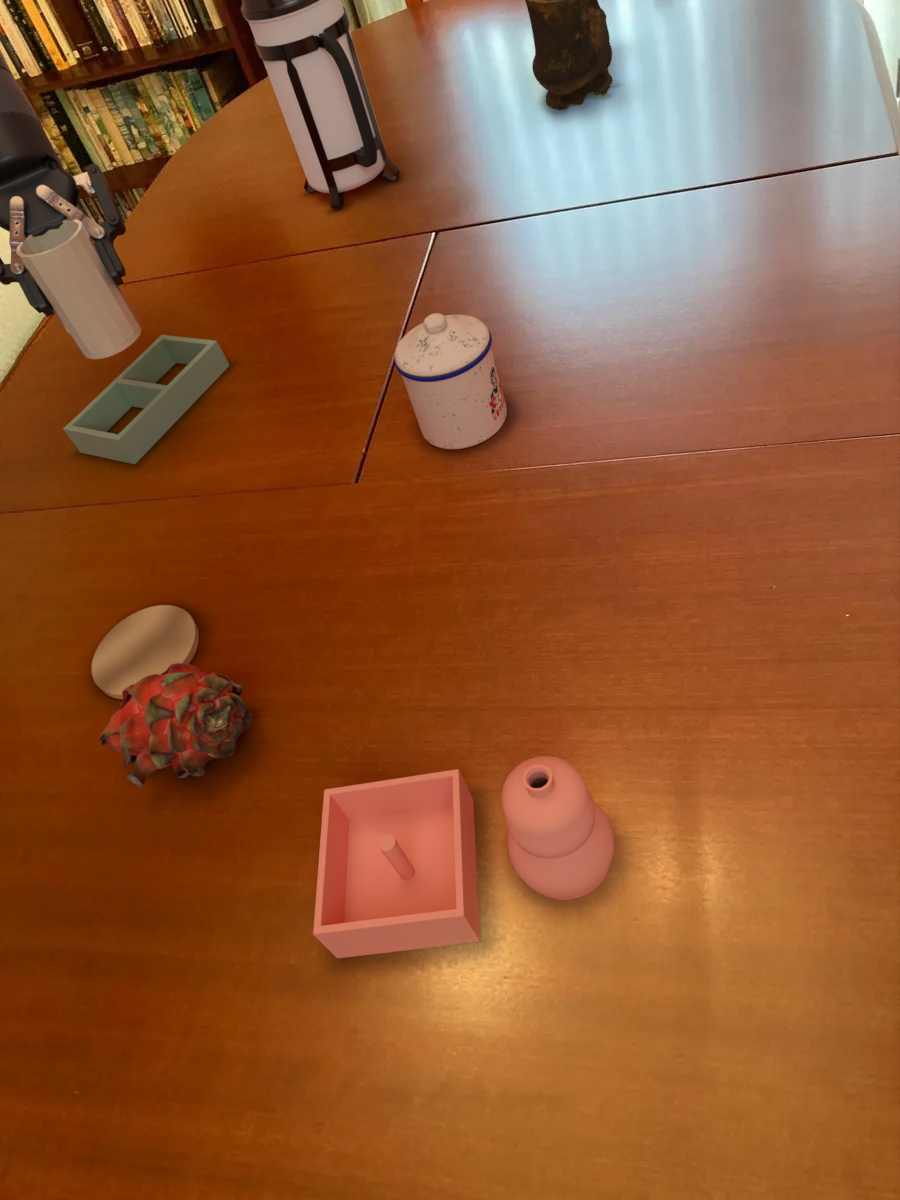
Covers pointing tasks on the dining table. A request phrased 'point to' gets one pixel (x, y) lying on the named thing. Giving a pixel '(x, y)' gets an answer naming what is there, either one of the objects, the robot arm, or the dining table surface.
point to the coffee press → (320, 92)
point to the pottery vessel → (570, 49)
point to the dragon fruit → (177, 721)
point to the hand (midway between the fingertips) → (83, 296)
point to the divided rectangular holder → (147, 398)
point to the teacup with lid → (452, 380)
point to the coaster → (144, 647)
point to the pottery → (447, 854)
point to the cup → (80, 289)
